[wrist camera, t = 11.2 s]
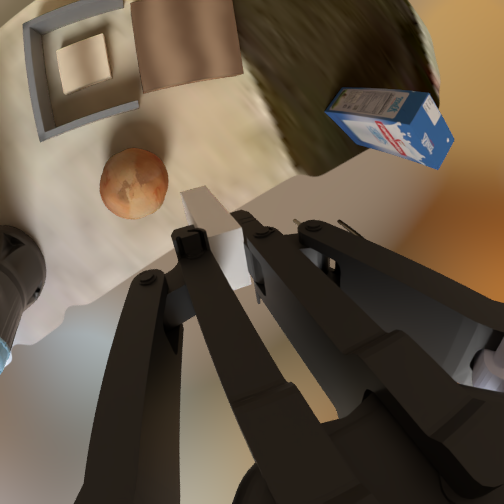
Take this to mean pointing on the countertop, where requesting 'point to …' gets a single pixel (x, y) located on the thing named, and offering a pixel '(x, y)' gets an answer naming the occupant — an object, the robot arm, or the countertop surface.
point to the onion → (133, 183)
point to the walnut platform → (185, 41)
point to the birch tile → (84, 64)
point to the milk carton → (393, 123)
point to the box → (89, 5)
